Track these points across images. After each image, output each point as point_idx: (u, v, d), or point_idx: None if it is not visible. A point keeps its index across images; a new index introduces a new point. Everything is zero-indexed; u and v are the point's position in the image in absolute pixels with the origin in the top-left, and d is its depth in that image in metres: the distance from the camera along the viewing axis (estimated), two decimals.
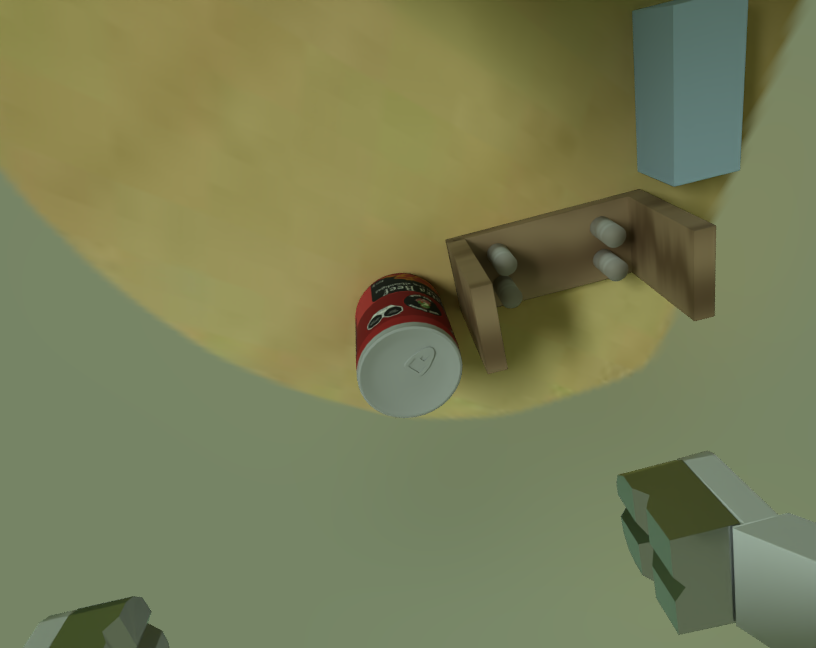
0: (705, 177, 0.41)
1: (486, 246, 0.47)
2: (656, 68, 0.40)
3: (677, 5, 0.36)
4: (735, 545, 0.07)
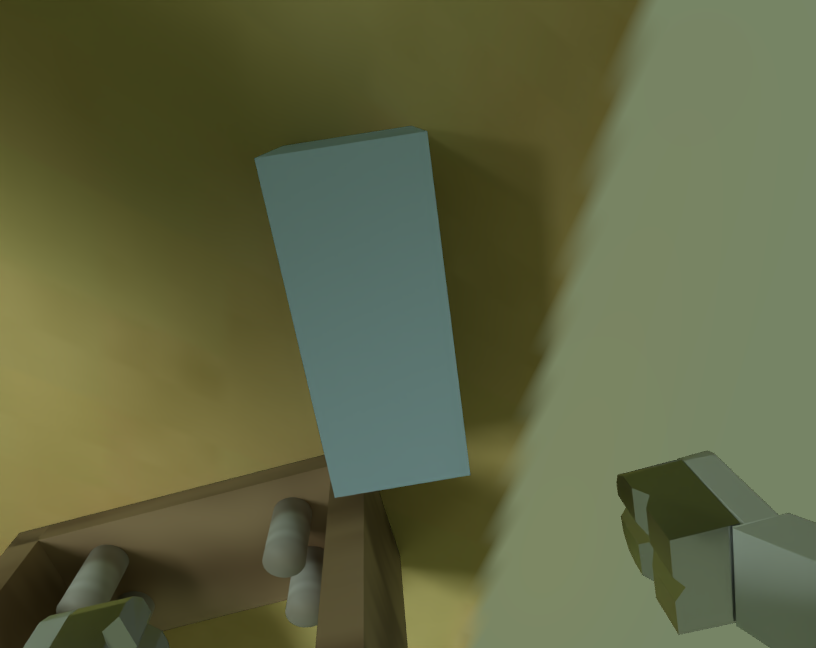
0: (399, 484, 0.20)
1: (84, 550, 0.26)
2: None
3: (264, 159, 0.16)
4: (735, 545, 0.07)
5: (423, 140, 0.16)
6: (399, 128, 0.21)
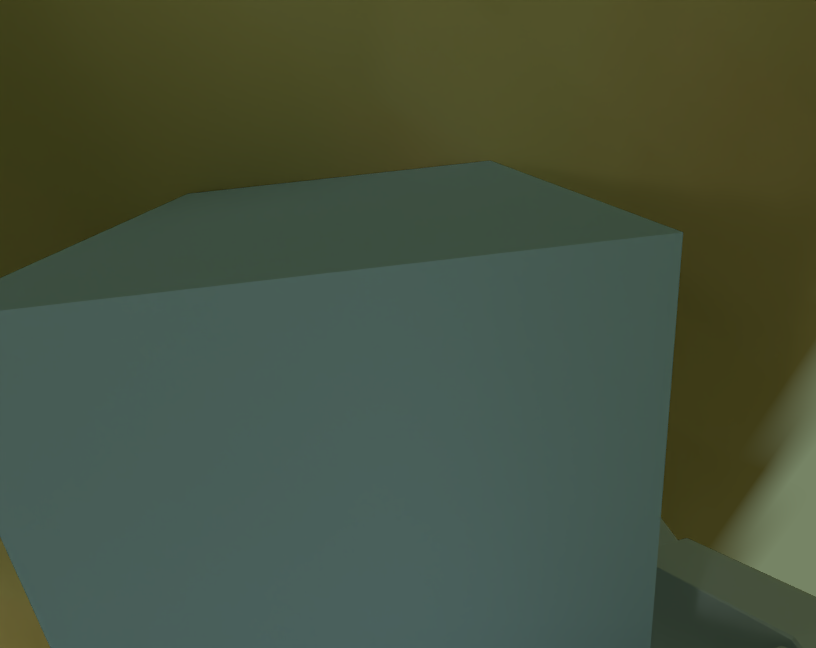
0: None
1: None
2: None
3: None
4: None
5: (658, 269, 0.04)
6: (471, 169, 0.08)
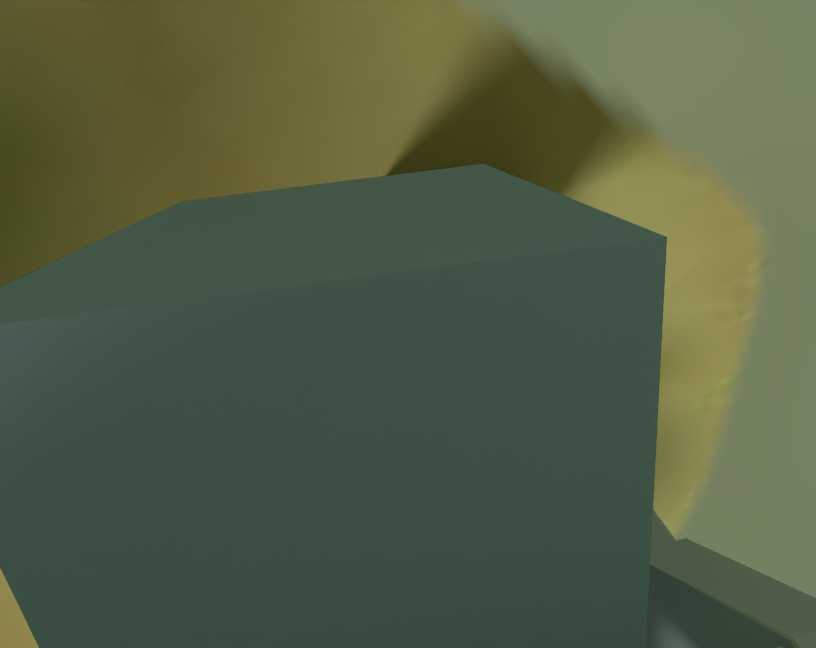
0: None
1: None
2: None
3: None
4: None
5: (643, 274, 0.04)
6: (463, 173, 0.08)
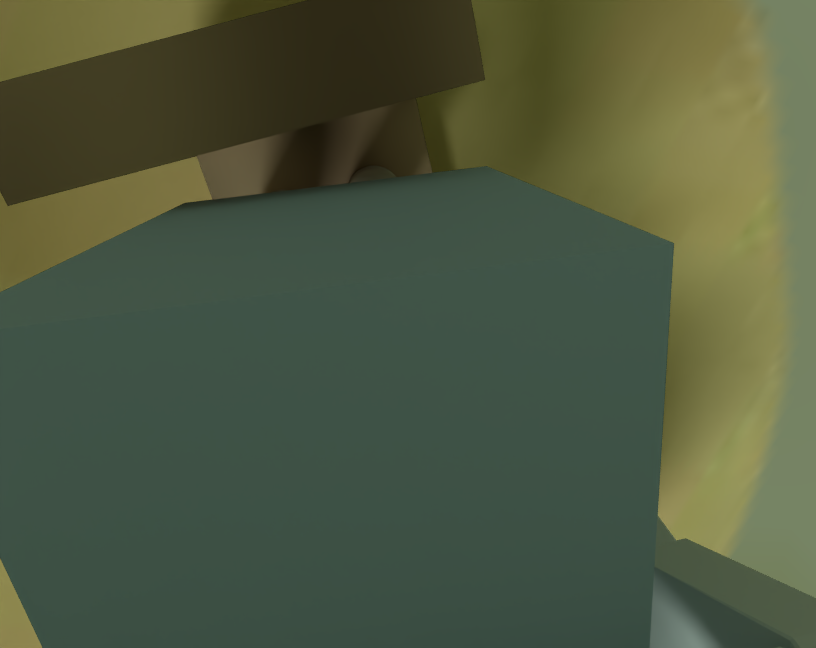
0: None
1: None
2: None
3: None
4: None
5: (650, 279, 0.04)
6: (467, 176, 0.08)
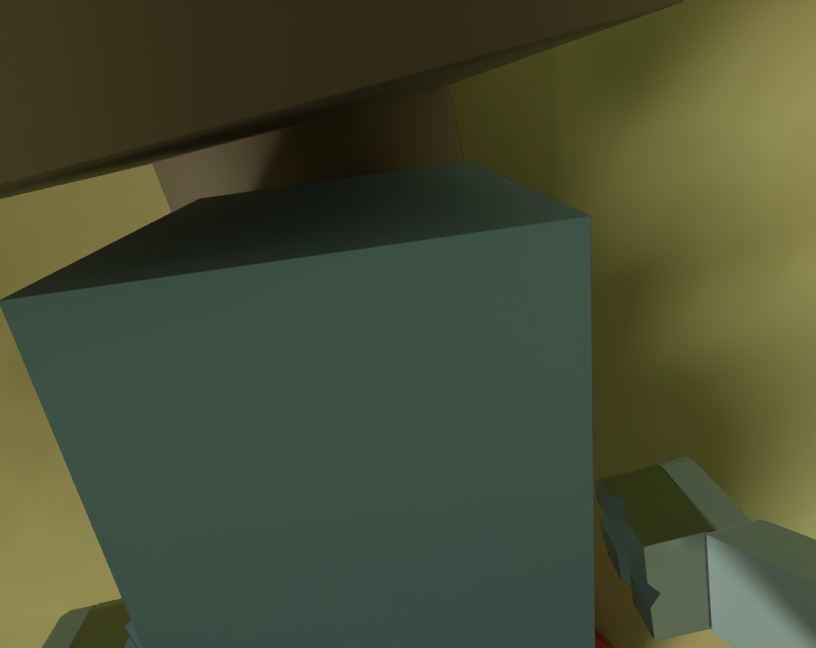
0: None
1: None
2: None
3: (34, 304, 0.05)
4: (709, 551, 0.07)
5: (574, 245, 0.05)
6: (449, 169, 0.09)
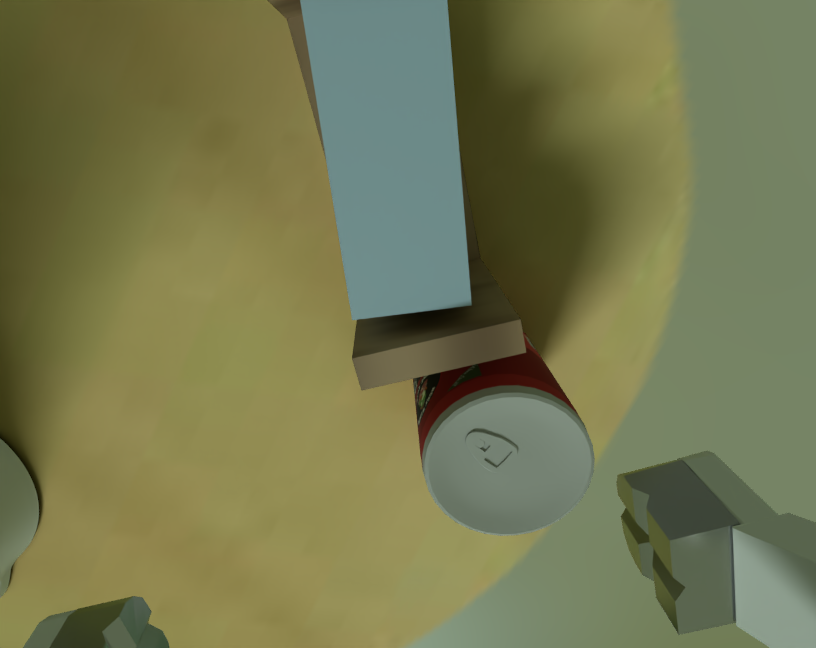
0: (409, 310, 0.23)
1: None
2: None
3: None
4: (735, 545, 0.07)
5: None
6: None
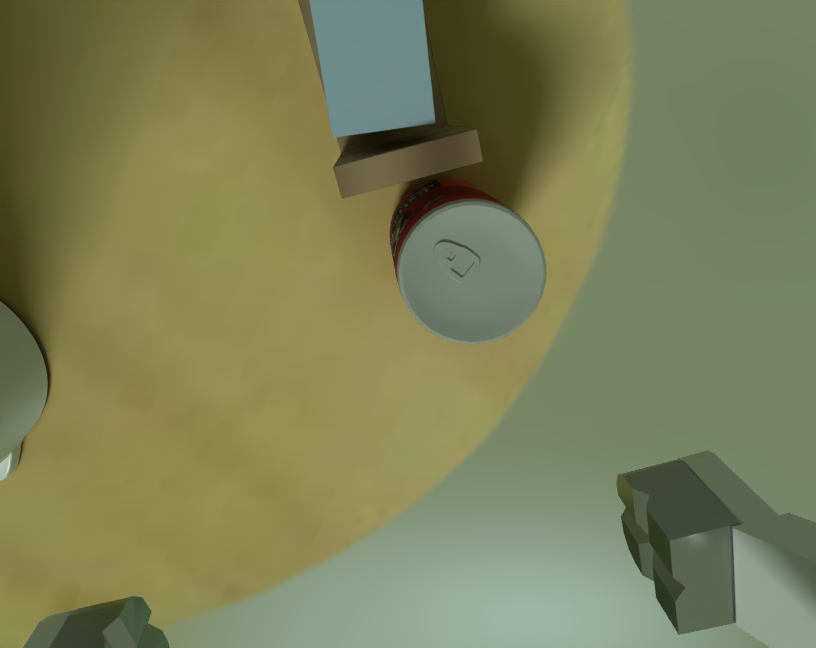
0: (381, 128, 0.27)
1: None
2: None
3: None
4: (735, 545, 0.07)
5: None
6: None
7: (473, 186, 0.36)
